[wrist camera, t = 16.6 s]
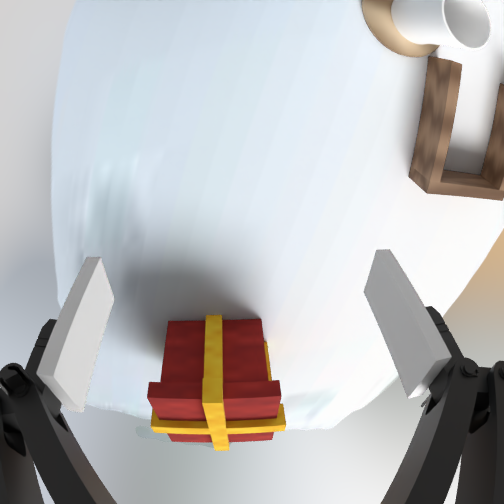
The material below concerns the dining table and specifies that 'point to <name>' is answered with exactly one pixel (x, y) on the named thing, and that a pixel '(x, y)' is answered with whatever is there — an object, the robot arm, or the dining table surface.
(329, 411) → the dining table surface
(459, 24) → the mug
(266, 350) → the gift box
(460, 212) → the dining table surface
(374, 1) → the coaster
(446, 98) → the cradle
